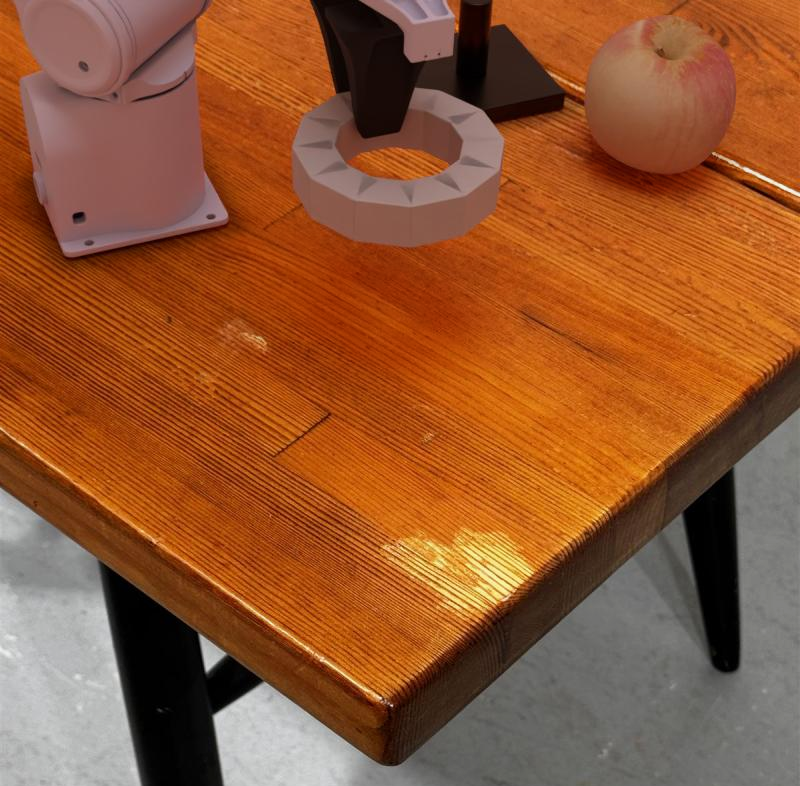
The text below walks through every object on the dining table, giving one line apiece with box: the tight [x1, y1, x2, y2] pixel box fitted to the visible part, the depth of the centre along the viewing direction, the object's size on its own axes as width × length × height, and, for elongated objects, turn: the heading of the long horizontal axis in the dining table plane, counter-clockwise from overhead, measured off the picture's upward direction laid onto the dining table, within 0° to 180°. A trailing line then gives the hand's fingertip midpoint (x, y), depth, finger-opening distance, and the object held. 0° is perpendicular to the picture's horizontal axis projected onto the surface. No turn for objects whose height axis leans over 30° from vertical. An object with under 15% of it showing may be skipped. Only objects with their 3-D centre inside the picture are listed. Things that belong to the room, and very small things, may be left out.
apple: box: [583, 14, 737, 175], centre depth 86 cm, size 9×9×8 cm
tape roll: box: [291, 88, 506, 249], centre depth 71 cm, size 10×10×2 cm
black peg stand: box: [415, 0, 566, 124], centre depth 92 cm, size 9×9×6 cm
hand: (369, 117), depth 73 cm, fingers closed on tape roll, 2 cm apart
